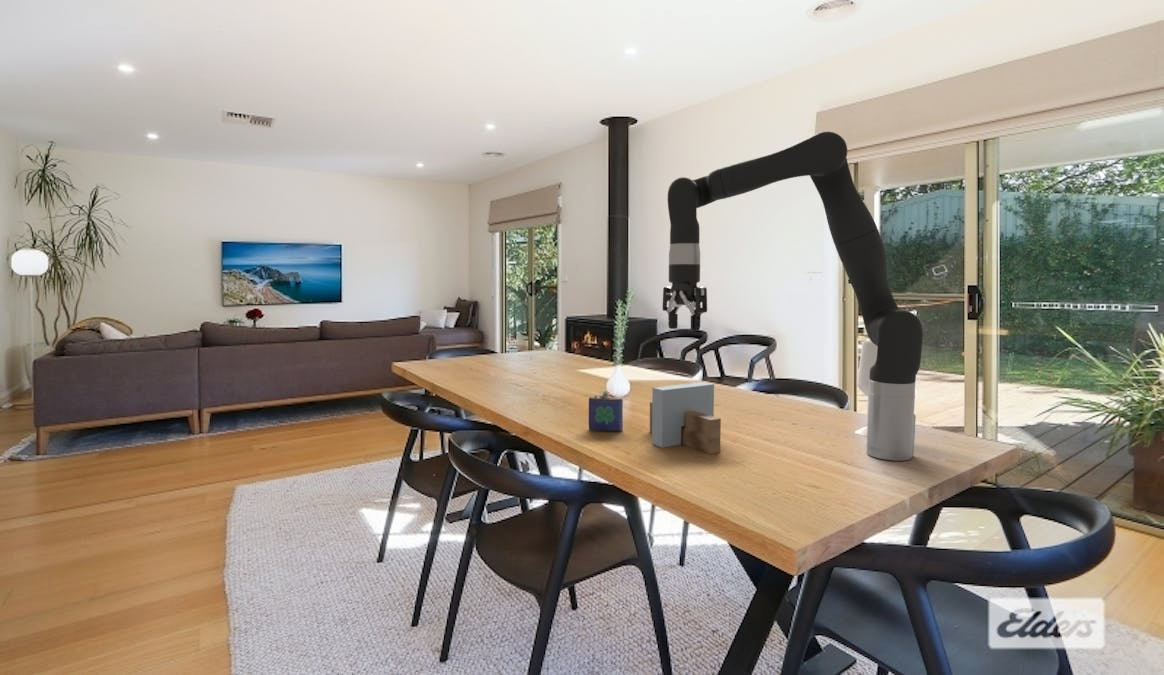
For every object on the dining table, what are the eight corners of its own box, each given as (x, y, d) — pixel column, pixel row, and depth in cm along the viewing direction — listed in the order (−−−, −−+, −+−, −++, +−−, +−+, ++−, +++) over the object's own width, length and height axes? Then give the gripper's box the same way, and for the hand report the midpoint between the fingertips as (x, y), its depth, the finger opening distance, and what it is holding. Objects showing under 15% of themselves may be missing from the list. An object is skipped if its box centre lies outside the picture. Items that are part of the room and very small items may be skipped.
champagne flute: (872, 429, 159) (876, 340, 157) (889, 436, 153) (893, 343, 150) (849, 430, 158) (852, 340, 156) (864, 437, 152) (868, 343, 150)
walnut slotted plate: (649, 431, 158) (649, 402, 158) (658, 430, 160) (659, 400, 159) (710, 454, 137) (710, 420, 137) (720, 452, 139) (720, 418, 138)
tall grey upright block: (652, 443, 146) (652, 387, 145) (702, 435, 154) (703, 382, 153) (661, 447, 143) (662, 390, 142) (713, 439, 151) (714, 384, 149)
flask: (623, 430, 161) (623, 390, 160) (622, 432, 158) (621, 392, 157) (589, 428, 162) (589, 389, 161) (587, 431, 159) (587, 391, 158)
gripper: (716, 262, 140) (715, 331, 142) (678, 264, 153) (677, 327, 154) (691, 262, 137) (690, 332, 138) (654, 263, 149) (654, 328, 150)
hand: (683, 329), depth 146 cm, fingers open, 8 cm apart
